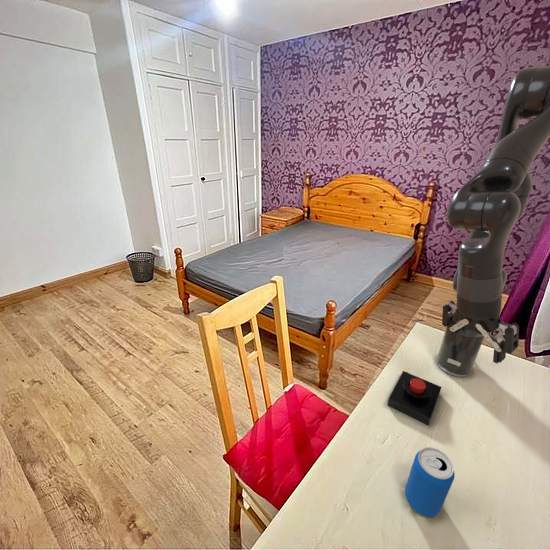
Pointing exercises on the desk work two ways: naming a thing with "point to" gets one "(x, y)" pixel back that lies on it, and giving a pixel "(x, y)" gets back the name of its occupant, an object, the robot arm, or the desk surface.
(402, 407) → the button housing
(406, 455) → the desk surface
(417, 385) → the plunger
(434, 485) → the beverage can
